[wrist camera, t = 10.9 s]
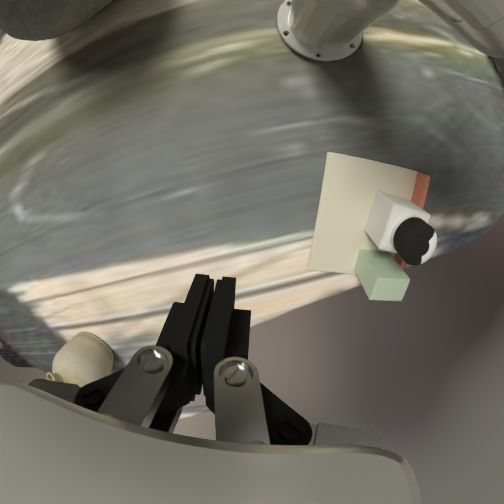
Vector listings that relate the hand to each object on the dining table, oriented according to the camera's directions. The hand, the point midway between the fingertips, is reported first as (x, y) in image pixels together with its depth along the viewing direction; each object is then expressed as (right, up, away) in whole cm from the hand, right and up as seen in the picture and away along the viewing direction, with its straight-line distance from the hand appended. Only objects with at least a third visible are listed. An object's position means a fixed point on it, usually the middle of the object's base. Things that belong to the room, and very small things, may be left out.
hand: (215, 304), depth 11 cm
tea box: (+23, +1, +33) cm, 40 cm away
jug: (-41, -23, +49) cm, 68 cm away
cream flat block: (+20, +7, +30) cm, 37 cm away
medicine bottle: (+24, +8, +30) cm, 39 cm away
